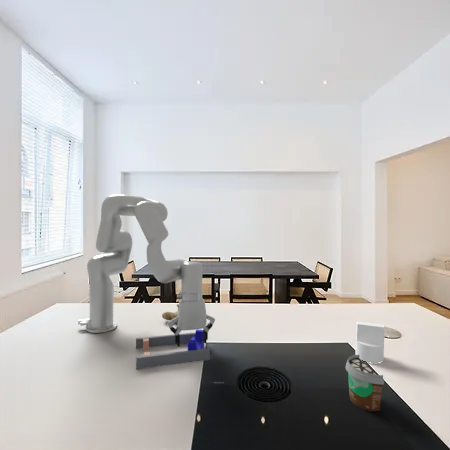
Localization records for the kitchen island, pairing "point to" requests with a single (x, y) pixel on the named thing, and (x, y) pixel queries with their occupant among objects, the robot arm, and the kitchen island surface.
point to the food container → (364, 384)
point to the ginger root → (170, 315)
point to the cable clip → (196, 341)
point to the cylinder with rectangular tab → (370, 342)
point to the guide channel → (168, 358)
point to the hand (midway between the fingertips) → (191, 343)
